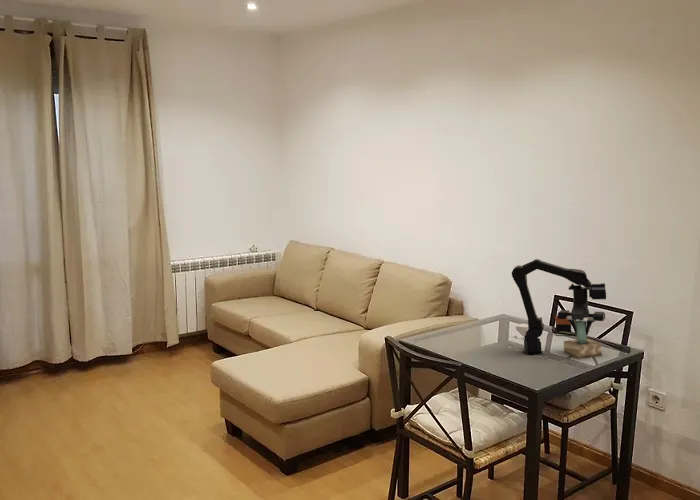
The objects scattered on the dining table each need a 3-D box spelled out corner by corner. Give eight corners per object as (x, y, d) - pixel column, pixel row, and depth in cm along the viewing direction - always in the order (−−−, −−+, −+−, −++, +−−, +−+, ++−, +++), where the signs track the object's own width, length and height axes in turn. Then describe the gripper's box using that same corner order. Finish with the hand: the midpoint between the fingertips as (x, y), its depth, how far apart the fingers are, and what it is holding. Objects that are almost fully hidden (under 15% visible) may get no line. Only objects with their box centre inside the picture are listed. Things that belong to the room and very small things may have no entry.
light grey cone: (533, 336, 299) (533, 324, 298) (527, 339, 295) (526, 327, 294) (522, 335, 303) (522, 323, 303) (516, 337, 299) (515, 325, 299)
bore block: (578, 358, 259) (578, 347, 258) (564, 352, 269) (563, 341, 269) (601, 355, 261) (601, 343, 260) (586, 349, 272) (585, 338, 271)
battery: (571, 335, 295) (570, 315, 294) (556, 336, 297) (555, 315, 296) (570, 333, 299) (569, 313, 298) (556, 333, 301) (555, 313, 300)
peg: (580, 345, 262) (579, 322, 261) (575, 343, 266) (574, 321, 265) (588, 344, 263) (588, 321, 262) (583, 342, 267) (582, 319, 266)
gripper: (553, 302, 261) (555, 338, 262) (600, 304, 251) (601, 341, 252) (559, 297, 270) (561, 331, 272) (604, 298, 260) (606, 334, 262)
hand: (581, 334), depth 264 cm, fingers closed on peg, 4 cm apart
